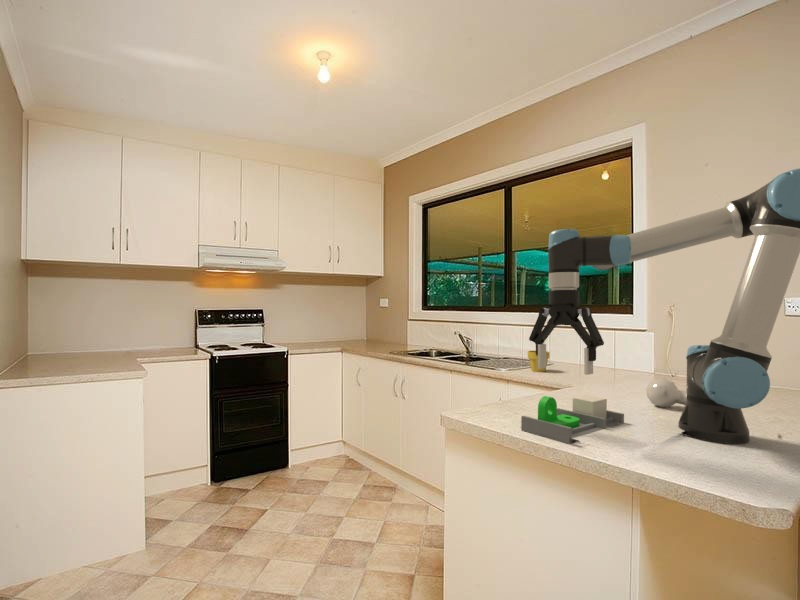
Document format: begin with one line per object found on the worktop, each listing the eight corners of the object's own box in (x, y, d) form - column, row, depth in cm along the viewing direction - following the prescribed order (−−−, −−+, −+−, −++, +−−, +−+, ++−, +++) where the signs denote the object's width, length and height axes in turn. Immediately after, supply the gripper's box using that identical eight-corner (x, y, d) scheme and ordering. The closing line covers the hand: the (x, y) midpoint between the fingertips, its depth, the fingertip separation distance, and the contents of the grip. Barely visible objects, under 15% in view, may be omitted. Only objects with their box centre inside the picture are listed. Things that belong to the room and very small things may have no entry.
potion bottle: (643, 408, 154) (696, 420, 146) (643, 395, 147) (698, 407, 139) (648, 384, 158) (699, 394, 150) (648, 370, 151) (702, 380, 143)
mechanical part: (558, 434, 112) (559, 401, 112) (537, 428, 117) (538, 397, 117) (583, 426, 120) (584, 395, 120) (563, 421, 125) (563, 392, 125)
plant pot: (527, 371, 223) (527, 351, 223) (527, 369, 233) (527, 349, 233) (549, 373, 220) (549, 352, 220) (548, 370, 230) (549, 350, 230)
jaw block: (606, 420, 126) (606, 398, 126) (592, 424, 122) (593, 401, 122) (586, 416, 131) (586, 395, 131) (572, 419, 127) (572, 398, 127)
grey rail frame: (623, 427, 124) (624, 413, 124) (569, 444, 108) (569, 428, 108) (576, 416, 135) (577, 404, 135) (521, 430, 119) (521, 416, 120)
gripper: (618, 288, 111) (619, 375, 111) (532, 291, 131) (533, 364, 131) (602, 287, 107) (602, 378, 106) (516, 290, 126) (516, 367, 126)
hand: (564, 371), depth 119 cm, fingers open, 13 cm apart
